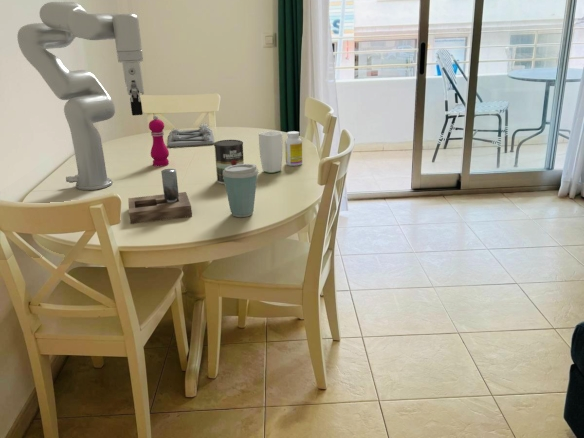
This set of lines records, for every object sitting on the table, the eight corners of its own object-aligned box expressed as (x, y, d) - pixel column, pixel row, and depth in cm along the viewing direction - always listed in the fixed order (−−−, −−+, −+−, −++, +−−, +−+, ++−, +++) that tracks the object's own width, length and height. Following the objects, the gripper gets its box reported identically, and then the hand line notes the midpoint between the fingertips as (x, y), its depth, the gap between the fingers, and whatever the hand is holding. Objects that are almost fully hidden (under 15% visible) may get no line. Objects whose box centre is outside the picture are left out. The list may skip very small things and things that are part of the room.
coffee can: (249, 182, 195) (246, 143, 190) (221, 186, 191) (218, 147, 186) (239, 175, 203) (237, 138, 198) (213, 178, 200) (210, 141, 195)
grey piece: (169, 135, 275) (168, 121, 273) (212, 133, 279) (211, 119, 276) (167, 149, 248) (166, 134, 245) (215, 146, 251) (213, 131, 249)
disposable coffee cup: (218, 217, 161) (215, 169, 156) (235, 206, 171) (232, 160, 165) (251, 221, 158) (248, 172, 152) (265, 209, 167) (263, 162, 162)
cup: (272, 167, 212) (271, 130, 206) (285, 171, 207) (284, 132, 201) (258, 171, 207) (256, 133, 202) (271, 175, 202) (269, 136, 197)
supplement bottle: (305, 163, 216) (305, 132, 211) (294, 167, 212) (293, 135, 207) (293, 161, 220) (292, 130, 216) (282, 164, 216) (281, 132, 211)
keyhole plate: (130, 223, 158) (128, 212, 157) (129, 208, 171) (128, 198, 170) (192, 216, 163) (191, 205, 162) (187, 202, 175) (186, 191, 174)
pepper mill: (165, 167, 217) (159, 117, 210) (148, 166, 218) (142, 117, 211) (172, 162, 223) (167, 114, 216) (156, 161, 225) (150, 113, 218)
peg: (165, 214, 165) (160, 173, 160) (164, 209, 170) (159, 169, 165) (182, 212, 166) (178, 172, 162) (180, 207, 171) (176, 167, 166)
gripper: (143, 58, 159) (150, 116, 165) (141, 54, 175) (148, 107, 181) (117, 59, 157) (125, 118, 163) (117, 55, 173) (124, 109, 179)
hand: (137, 112), depth 172 cm, fingers open, 9 cm apart
